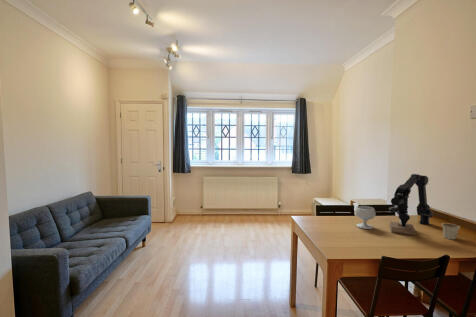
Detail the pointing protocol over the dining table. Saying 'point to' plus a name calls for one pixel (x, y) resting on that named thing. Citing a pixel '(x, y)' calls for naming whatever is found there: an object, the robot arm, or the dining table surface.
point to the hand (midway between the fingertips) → (402, 224)
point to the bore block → (402, 228)
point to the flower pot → (450, 230)
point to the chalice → (365, 216)
